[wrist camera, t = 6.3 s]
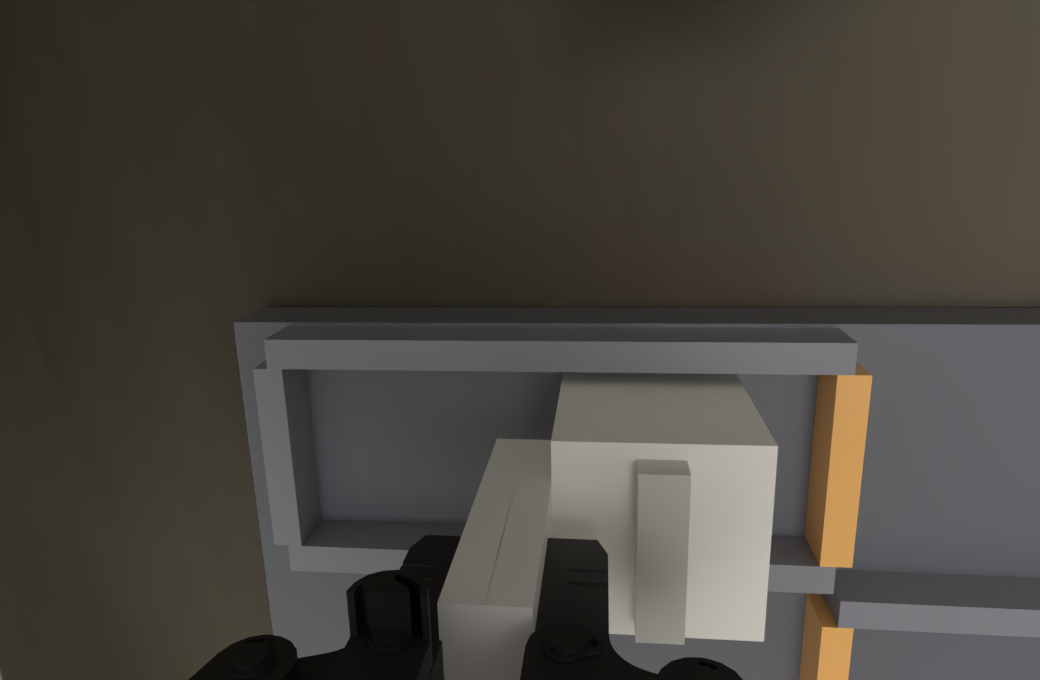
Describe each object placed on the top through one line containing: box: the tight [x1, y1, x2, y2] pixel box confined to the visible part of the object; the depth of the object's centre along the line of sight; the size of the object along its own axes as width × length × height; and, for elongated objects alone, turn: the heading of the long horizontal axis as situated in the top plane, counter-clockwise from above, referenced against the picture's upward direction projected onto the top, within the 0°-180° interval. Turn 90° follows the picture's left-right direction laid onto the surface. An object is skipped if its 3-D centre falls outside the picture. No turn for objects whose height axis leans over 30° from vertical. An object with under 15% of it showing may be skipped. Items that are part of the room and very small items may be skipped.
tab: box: [551, 372, 778, 645], centre depth 17 cm, size 4×4×6 cm
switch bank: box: [233, 307, 1040, 680], centre depth 21 cm, size 14×33×4 cm, turn 91°
